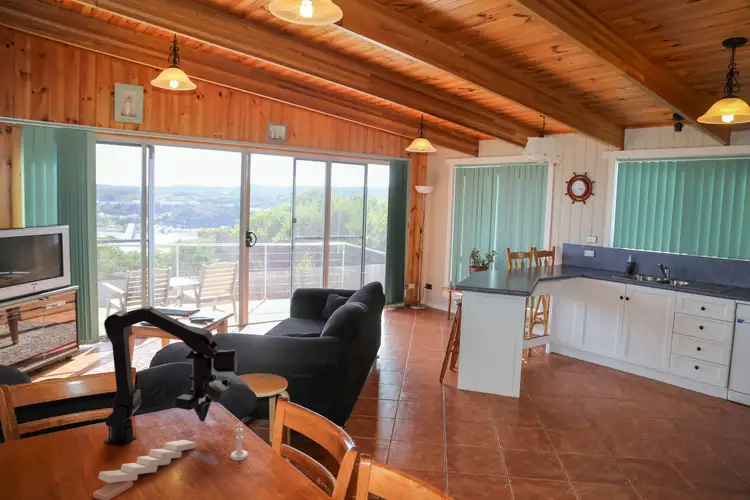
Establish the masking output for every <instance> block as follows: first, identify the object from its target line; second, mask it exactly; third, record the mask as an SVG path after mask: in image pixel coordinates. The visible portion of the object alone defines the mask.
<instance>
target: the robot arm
mask: <svg viewBox="0 0 750 500" xmlns="http://www.w3.org/2000/svg"><path fill="white" fill-rule="evenodd" d="M142 322H145V323H147V324H149V325H151V326H153V327H155V328H157V329H160V330H162V331H163V332H165V333H168V334H170V335H172V336H173V337H176V338H178V339H179V340H181V341H182V342H183V344H185V346H187V347H188V348H189V349H190V350H189V353H188V354H187V355H186V356H185V359H186V360H192V374H191V375H190V376H189V380H190V381H191V380H192V387H191V388H189V393H191V394H192V395H191V394H186V393H185V394H181V395H180V396H178V397H176V398H175V399H174V401H173V407H174V408H176V409H181V410H186V411H190V410H194V411H195V413H196V416H197V417H198V419H199V420H200V422H205V421H206V418H207V415H208V413H209V409H210V406H211V404H212V403H213V402H214V401H221V400H222V399H224V398H225V399H226V397H227V396H228V392H230V391H232V389H231V388H232V387H231V386H232V383H231V379H229V378H225V379H223V380H221V379H220V380H218V379H217V376H216V373H213V369H214V371H215V372H217V373H237V370H238V362H239V360H238V355H237V349H236V348H234V349H232V348H231V349H221V347H220V346H219V344H218V343H217V342H216V340H215V339H214V335H213V333H212V331H210V330H208V329H205V328H201V327H197V326H191V325H188V324H186V323H184V322H181V321H179V320H177V319H175V318H174V317H171V316H170V315H167V314H166V313H163V312H161V311H159V310H157V309H155V308H154V307H153V306H151V305H146V306H144V307H140V308H136V309H132V310H129V311H126V310H118V311H116V312H114V313H112V314H110V315H108V316H107V317H106V318H105V320H104V322H103V326H104V330H105V334H106V336H107V338H108V339H109V341H110V343H111V347H112V356H113V357H112V358H113V366H114V375H115V387H116V390H115V395H114V398H113V404H112V406H113V407H112V412H111V413H109V415H108V416H107V417H105V418H104V423H105V425H106V427H107V429H108V430H107V431H108V438H107V439H105V440H104V443H107V444H110V445H113V446H114V445H115V446H119V447H120V446H122V445H124V444H126V443H128V442H130V441H133V440H134V439H136V438H137V435H134V426H133V419H131V417H133V415H134V413H135V412H136V411H137V410H139V408H140V406H141V403H142V402H143V399H142V397H141V396H142V395H141V393H142V390H141V388H138V389H136V387H135V386H134V382H133V372H132V363H131V362H132V361H131V360H132V359H131V352H130V351H131V350H130V342H129V341H130V337H131V332H132V328H133V327H132V326H134V325H136V324H139V323H142Z"/></svg>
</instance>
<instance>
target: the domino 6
mask: <svg viewBox="0 0 750 500" xmlns="http://www.w3.org/2000/svg"><path fill="white" fill-rule="evenodd" d="M163 446H164V447H163V449H167V450H171V451H175V452H177V451H181V452H183V451H186V450H191V449H192V450H193V449H195V448H196V442H194V441H191V440H187V439H180V440H174V441H169V442H168V441H167V442H164V445H163Z"/></svg>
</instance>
